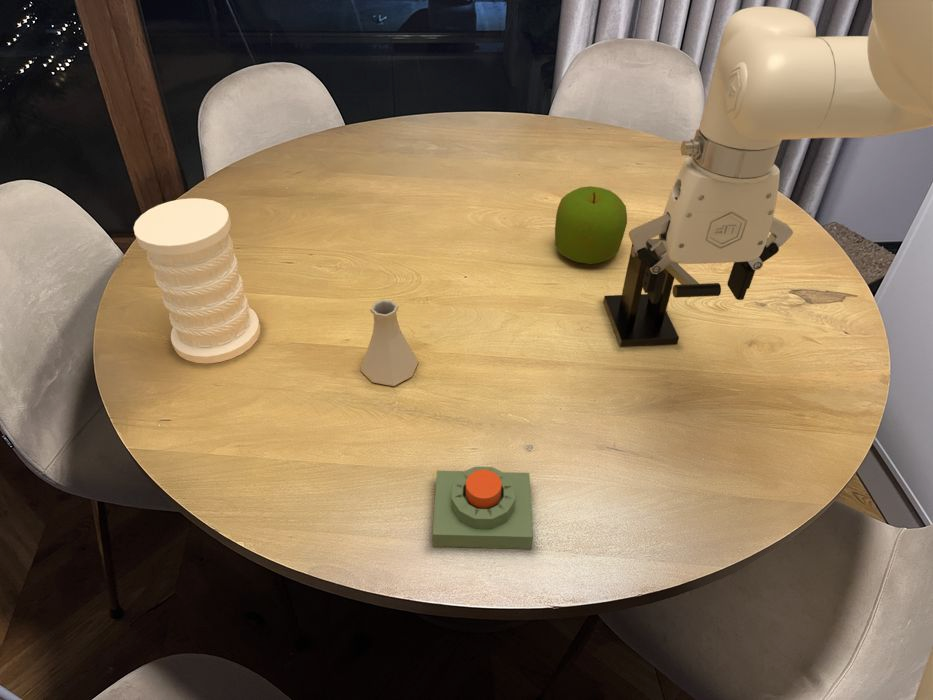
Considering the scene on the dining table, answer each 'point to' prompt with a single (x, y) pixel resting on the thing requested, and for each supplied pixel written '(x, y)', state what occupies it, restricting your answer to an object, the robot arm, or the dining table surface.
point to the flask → (388, 348)
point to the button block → (482, 513)
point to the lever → (688, 281)
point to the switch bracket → (640, 309)
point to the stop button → (483, 488)
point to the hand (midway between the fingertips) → (693, 294)
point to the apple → (590, 225)
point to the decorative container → (198, 279)
